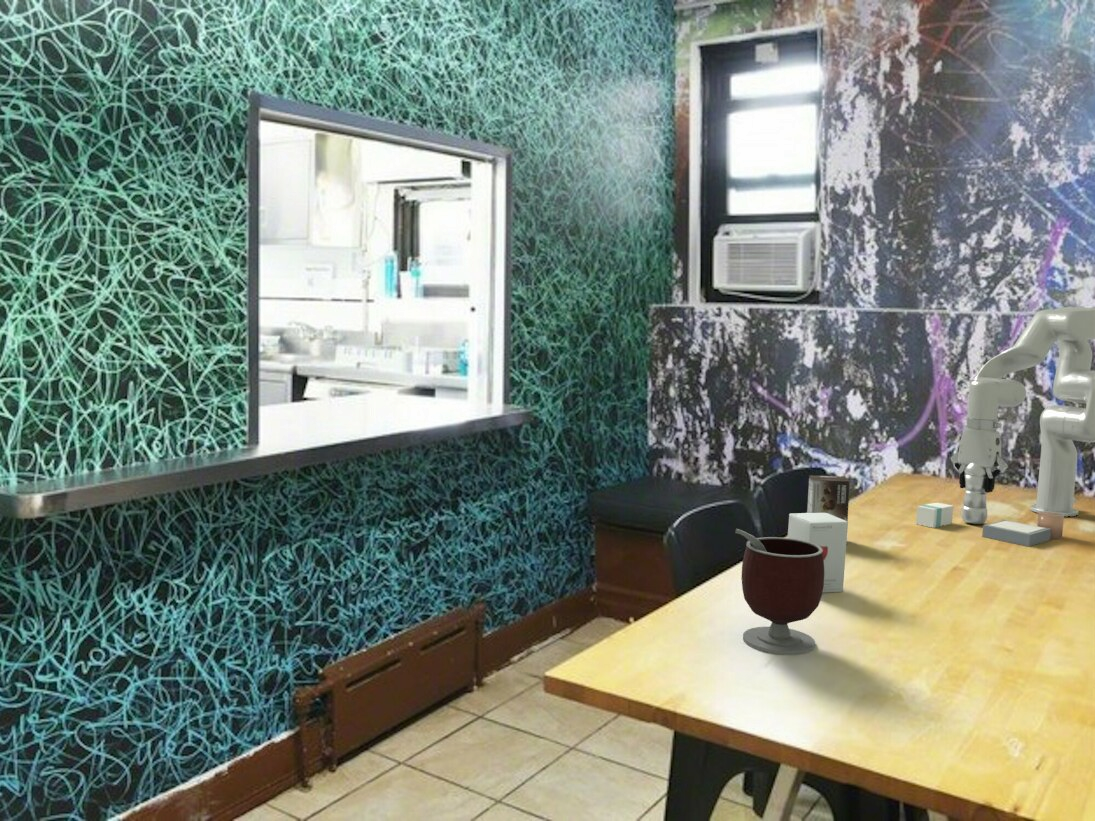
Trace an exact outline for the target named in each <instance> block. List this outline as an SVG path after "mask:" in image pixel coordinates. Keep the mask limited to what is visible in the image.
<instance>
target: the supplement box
mask: <svg viewBox="0 0 1095 821" xmlns="http://www.w3.org/2000/svg"><path fill="white" fill-rule="evenodd" d="M848 526H849V521H848V522H847V521H845V520H843V519H840V518H838V517H835V516H833V515H831V514H828V513H807V512H801V513H800V512H799V513H798V512H797V513H796V512H795V513H789V514H788V529H787V538H791V539H798V540H803V541H807V542H811V543H814V544H816V545H818V546H820V547H821V548H822V549H823V552H822V554H823V560H824V572H825V573H824V587H823V591H822V594H824V593H825V594H826V593H841V592H844V579H845V568H846V567H845V566H846V554H847V543H848V542H847V540H848V529H849V527H848ZM846 542H847V543H846Z"/></svg>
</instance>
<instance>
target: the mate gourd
mask: <svg viewBox="0 0 1095 821" xmlns="http://www.w3.org/2000/svg"><path fill="white" fill-rule="evenodd" d="M735 534H738V535H741V536H743V537H744V538H745V539H747V541H746V548H745V550H744V553H743V560H742V565H741V587H742V588H741V589H742V595H743V598H744V601H745V602H746V603H747V606H749V608H750V609H751V611H752V612H753V613H754V614H755V615H757V616H759V617H761V618H764V619H766V620H767V621H769V622H771V624H770V625H769V626H757V627H756V626H755V627H751V628H749V629H747V630H745V631H744V632H742V633H743V634H742V640H743V642H744V643H745V645H747V646H749V647H751V648H752V649H755V650H757V651H760V652H764V653H769V654H773V655H774V654H775V655H781V656H782V655H783V656H784V655H785V656H786V655H787V656H792V655H793V656H795V655H796V656H797V655H805V654H807V653H810V652H812V651H814V649H815V647H816V641H815V639H814V638H813V637H812V636H810V635H808V634H807V633H805V632H802V631H800V630H796V629H793V628H789V625H788V624H790V623H794V622H795V623H796V622H799V621H802V620H806V619H808V618H809V617H810V616H811V615H812V614H813V613H814V612H815V610H817V608H818V607H819V605H820V601H821V599H822V596H823V593H822V591H823V587H824V573H825V572H824V560H823V554H822V552H823V549H822V548H821V547H820V546H818V545H816V544H814V543H811V542H807V541H803V540H798V539H791V538H788V537H781V536H780V537H778V536H777V537H776V536H775V537H774V536H768V537H766V536H765V537H764V536H763V537H755V536H754V534H753V535H752V534H750V533H748V532H746V531H744V530H742V529H740V528H736V529H735Z"/></svg>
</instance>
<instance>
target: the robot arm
mask: <svg viewBox="0 0 1095 821" xmlns="http://www.w3.org/2000/svg"><path fill="white" fill-rule="evenodd" d="M1090 340H1095V307H1077V306H1076V307H1075V306H1073V307H1072V306H1067V307H1065V306H1064V307H1058V308H1055V309H1053V308H1052V309H1051V308H1047V309H1042V310H1039V311H1038V312H1036V313H1035V314H1034V315H1033V317H1032V318H1031V319H1030V321H1029V323H1028V324H1027V326H1026V327H1025V328H1024V330H1023V332H1022V333H1021V334H1020V336H1019V337H1018V339H1017V340H1016V342H1015V343H1014V345H1013V346H1012V347H1010V348H1009V347H1008V349H1006V350H1004V351H1002V352H1001V353H998V354H997V355H995V356H993V358H990V359H989V360H988V361H987V362H985V364H984V365H983V366H982V367H981V369H980V370H979V371H978V372H977V374H976V376H975V378H974V379H973V380H972V381H971V382H970V384H969V391H968V400H967V401H968V402H967V416H966V427H965V428H964V429H963V430H962V431H963V432H962V434H961V438H960V441H959V442H960V444H959V448H958V451H957V452H955V453H953V455H952V456H950V459H949V460H950V462H952V463H953V465H954V467H955V468H956V469H957V472H958V474H959V488H960V489H965V473H964V470H965V467H966V466H967V465H968V464H971V463H975V464H977V465H979V466H981V467H984V468H985V469H986V472H987V475H988V478H986V483H985V492H986V493H987V494H988V493H989V494H990V493H992V492H994V489H995V482H996V478H997V477H998V476H999V475H1001V474H1002V473H1003V472H1004V471H1005V470H1007V469H1008V468H1009V465H1008V464H1007V463H1006V462H1005V460H1004V459H1003V458H1002V441H1001V434H1000V433H1001V432H1000V431H998V429H1001V428H1002V426H1003V425H1002V423H1001V422H998V421H999V420H998V413H999V407H1005V408H1006V407H1007V408H1014V407H1017V406H1019V405H1021V404H1022V403H1023V402H1024V401H1025V399H1026V396H1027V389H1026V387H1025V385H1024V384H1023V383H1022V382H1020V381H1018V380H1016V379H1009V378H1003V377H1005V376H1008V375H1010V374H1012V373H1015V372H1018V371H1023V370H1026V369H1029V368H1034V367H1036V366H1038V365H1040V364H1041V363H1042V362H1044V360H1045V359H1046V356H1047V355H1048V354H1049V352H1050V351H1051V349H1052V347H1053V346H1054V344H1055V343H1056V342H1057V345H1058V349H1059V354H1058V360H1057V361H1058V362H1057V366H1056V368H1055V370H1056V371H1055V375H1054V380H1053V386H1052V387H1053V388H1052V393H1053V396H1054V397H1055V398H1056V399H1057V400H1060V401H1063V402H1071V403H1078V404H1080V403H1081V404H1085V407H1079V406H1078V407H1077V406H1071V405H1060V404H1056V405H1051V406H1048V407H1046V408H1045V409H1043V411H1042V412H1041V414H1040V416H1039V427H1040V434H1041V435H1040V436H1041V447H1040V449H1041V450H1040V459H1039V460H1040V461H1039V472H1038V482H1037V493H1036V504H1035V503H1034V504H1031V505H1030V506H1029V507H1030V508H1029V510H1030V511H1032V512H1034V513H1037V514H1038V513H1039V512H1053V513H1059V514H1062V515H1064V518H1065V517H1066V518H1067V517H1068V516H1070V517H1077V516H1078V515H1079V510H1077V509H1076V508H1073V507H1074V504H1075V503H1076V501H1077V499H1076V497H1075V496H1074V495H1075V487H1076V486H1075V484H1076V478H1077V463H1078V452H1077V450H1078V449H1077V448H1076V445H1075V444H1074V441H1077V442H1085V443H1095V370H1091V367H1092V361H1093V350H1092V348H1091V345H1090V344H1089V343H1090V342H1088V341H1090ZM996 467H997V468H996ZM1076 515H1077V516H1076Z"/></svg>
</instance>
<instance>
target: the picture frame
mask: <svg viewBox="0 0 1095 821" xmlns="http://www.w3.org/2000/svg"><path fill="white" fill-rule="evenodd" d="M981 534H982V535H981V537H983V538H986V537H987V539H991V540H995V541H1002V542H1007V543H1010V544H1016V545H1019V546H1024V547H1028V546H1029V547H1032V545H1033V546H1036V545H1039V544H1042V543H1045V541H1046V542H1049V541H1051V539H1050V537H1051V529H1050V528H1045V527H1039V526H1037V525H1033V524H1029V523H1023V522H1019V521H1013V520H1008V519H1002V520H999V521H994V522H991V523H988V524H987V523H986V524H984V525H983V526H982V533H981ZM1035 544H1036V545H1035Z"/></svg>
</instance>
